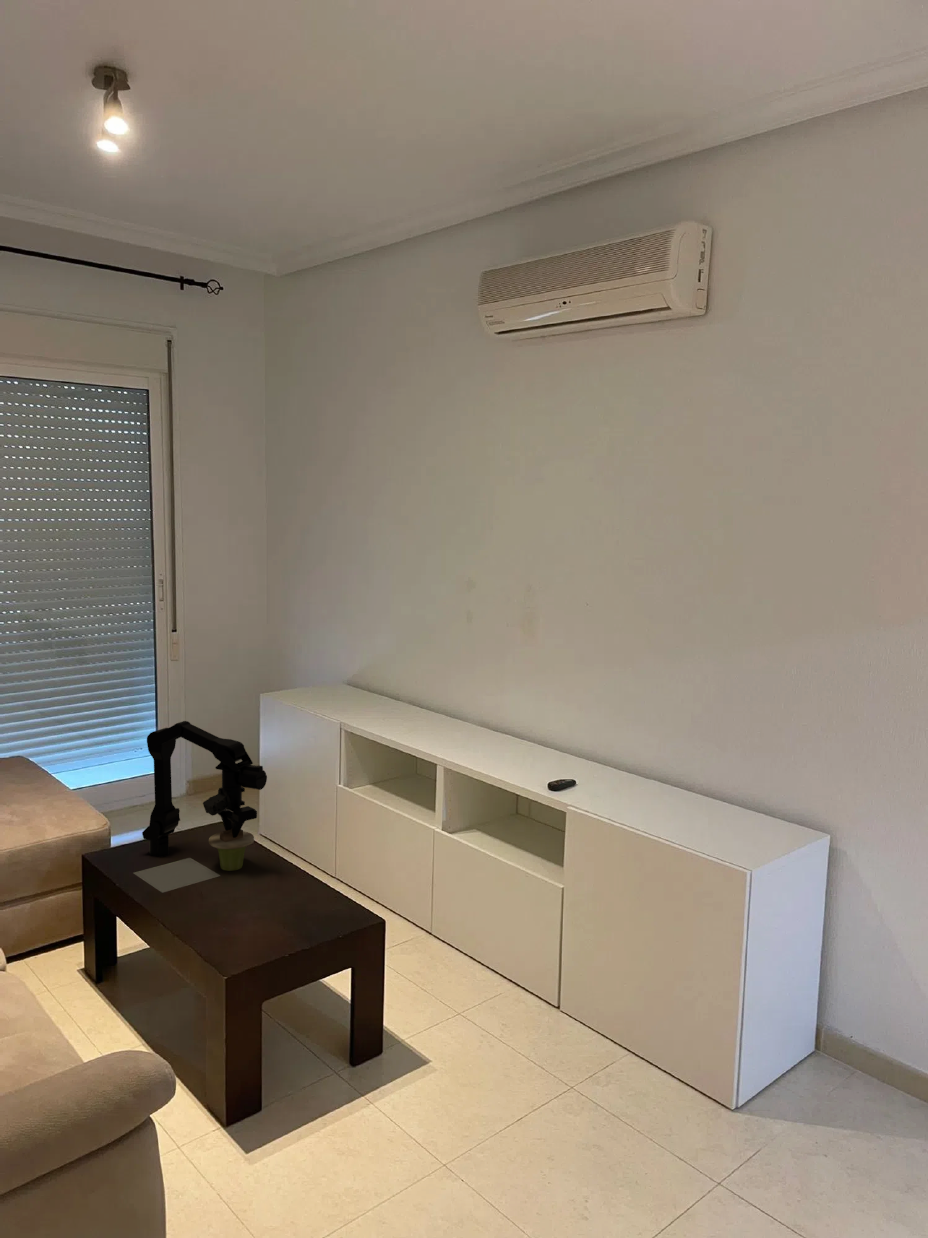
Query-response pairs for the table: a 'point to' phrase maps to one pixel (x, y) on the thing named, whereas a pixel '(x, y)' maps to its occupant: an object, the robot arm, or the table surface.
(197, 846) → the table surface
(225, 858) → the plant pot
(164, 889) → the mat
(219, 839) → the lid
